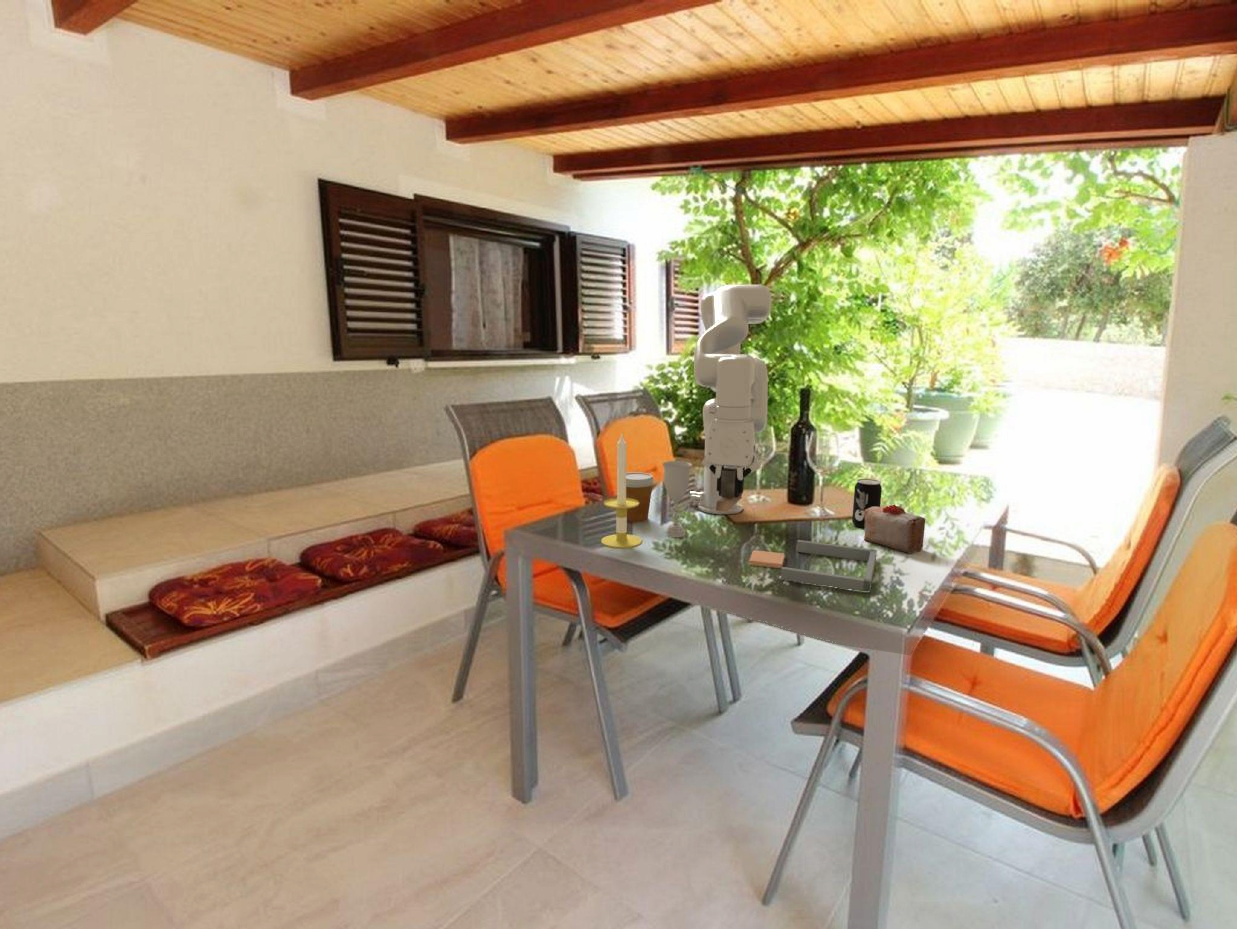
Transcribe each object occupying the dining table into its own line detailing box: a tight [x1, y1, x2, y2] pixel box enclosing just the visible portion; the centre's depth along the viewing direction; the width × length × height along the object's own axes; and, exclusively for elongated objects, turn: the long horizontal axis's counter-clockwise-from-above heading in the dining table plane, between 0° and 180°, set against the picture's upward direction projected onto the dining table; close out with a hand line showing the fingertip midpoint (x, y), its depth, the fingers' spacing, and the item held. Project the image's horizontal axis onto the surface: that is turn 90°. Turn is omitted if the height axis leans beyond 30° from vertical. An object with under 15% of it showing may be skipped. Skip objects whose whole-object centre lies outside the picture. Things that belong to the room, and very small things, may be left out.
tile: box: [748, 549, 785, 569], centre depth 150 cm, size 7×7×2 cm
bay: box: [780, 539, 878, 591], centre depth 144 cm, size 17×20×2 cm
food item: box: [863, 504, 926, 555], centre depth 160 cm, size 14×8×10 cm, turn 35°
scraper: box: [716, 467, 743, 512], centre depth 150 cm, size 3×13×8 cm, turn 156°
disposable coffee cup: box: [626, 471, 655, 523], centre depth 180 cm, size 10×10×12 cm
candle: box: [600, 432, 643, 550], centre depth 160 cm, size 10×10×27 cm
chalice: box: [661, 460, 692, 538], centre depth 167 cm, size 7×7×18 cm
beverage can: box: [851, 478, 883, 530], centre depth 175 cm, size 7×7×12 cm
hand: (729, 494), depth 150 cm, fingers closed on scraper, 3 cm apart
